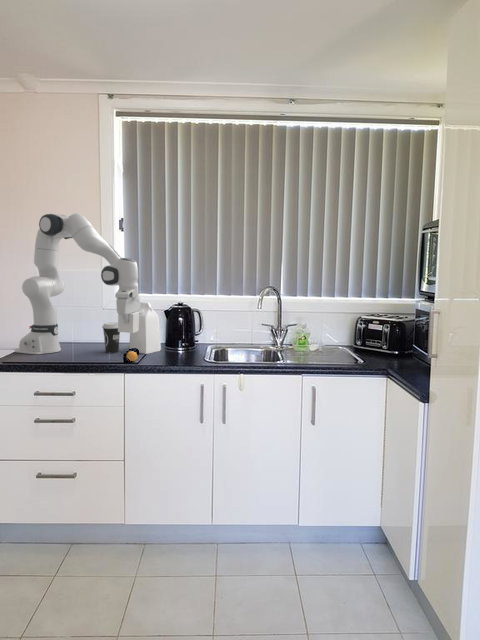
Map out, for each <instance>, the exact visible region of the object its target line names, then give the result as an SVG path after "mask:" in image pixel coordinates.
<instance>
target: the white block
mask: <svg viewBox="0 0 480 640" xmlns="http://www.w3.org/2000/svg"><path fill="white" fill-rule="evenodd" d="M117 317H118V318H117V323H118V332H120V333H129V334H130V333H134V332H137V331H139V313H138V312H132V313H129V314H128V316H127V318H128V322H129V323H127V324H124V320H123V317H122V315H119V314H118V313H117Z"/></svg>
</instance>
